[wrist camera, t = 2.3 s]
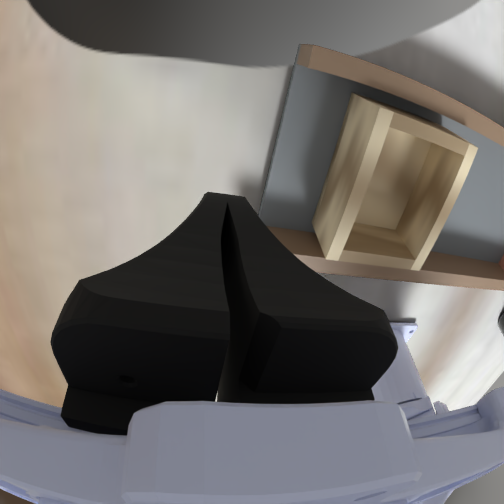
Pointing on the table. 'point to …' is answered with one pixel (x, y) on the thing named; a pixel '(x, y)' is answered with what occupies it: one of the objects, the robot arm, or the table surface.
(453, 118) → the bay
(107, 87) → the table surface
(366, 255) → the crate
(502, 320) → the supplement bottle
